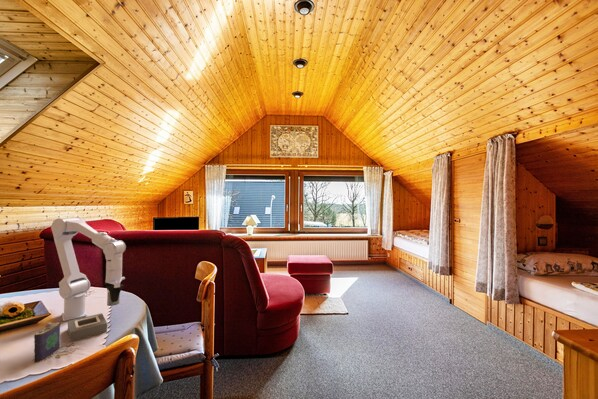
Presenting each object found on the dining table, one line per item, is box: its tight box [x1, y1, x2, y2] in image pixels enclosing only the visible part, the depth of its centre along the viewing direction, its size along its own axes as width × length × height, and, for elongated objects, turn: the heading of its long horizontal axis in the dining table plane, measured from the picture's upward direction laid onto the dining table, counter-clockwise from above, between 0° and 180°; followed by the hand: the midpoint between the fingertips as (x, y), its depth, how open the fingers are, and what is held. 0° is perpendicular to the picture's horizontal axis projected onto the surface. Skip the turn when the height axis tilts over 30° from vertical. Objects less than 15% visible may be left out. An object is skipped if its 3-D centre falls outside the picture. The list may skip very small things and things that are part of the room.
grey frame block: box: [67, 312, 108, 343], centre depth 105 cm, size 12×11×4 cm
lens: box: [106, 288, 121, 307], centre depth 115 cm, size 4×4×7 cm
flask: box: [33, 321, 61, 363], centre depth 89 cm, size 9×3×11 cm, turn 8°
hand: (113, 299), depth 115 cm, fingers closed on lens, 4 cm apart
